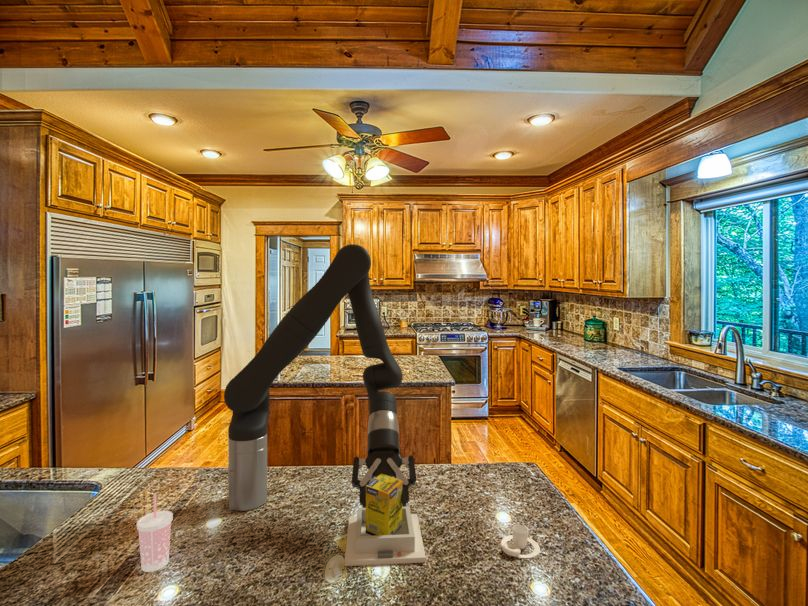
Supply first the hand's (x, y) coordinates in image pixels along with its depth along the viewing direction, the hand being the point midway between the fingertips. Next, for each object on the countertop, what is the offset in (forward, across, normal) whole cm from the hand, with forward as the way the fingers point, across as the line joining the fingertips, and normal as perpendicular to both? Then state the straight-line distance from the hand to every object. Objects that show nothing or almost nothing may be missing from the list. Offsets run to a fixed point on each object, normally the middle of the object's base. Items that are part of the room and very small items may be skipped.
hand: (384, 506), depth 86 cm
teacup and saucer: (+7, +26, +5) cm, 27 cm away
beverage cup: (+8, -45, +3) cm, 46 cm away
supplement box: (+3, 0, +5) cm, 6 cm away
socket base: (+5, 0, +6) cm, 8 cm away
